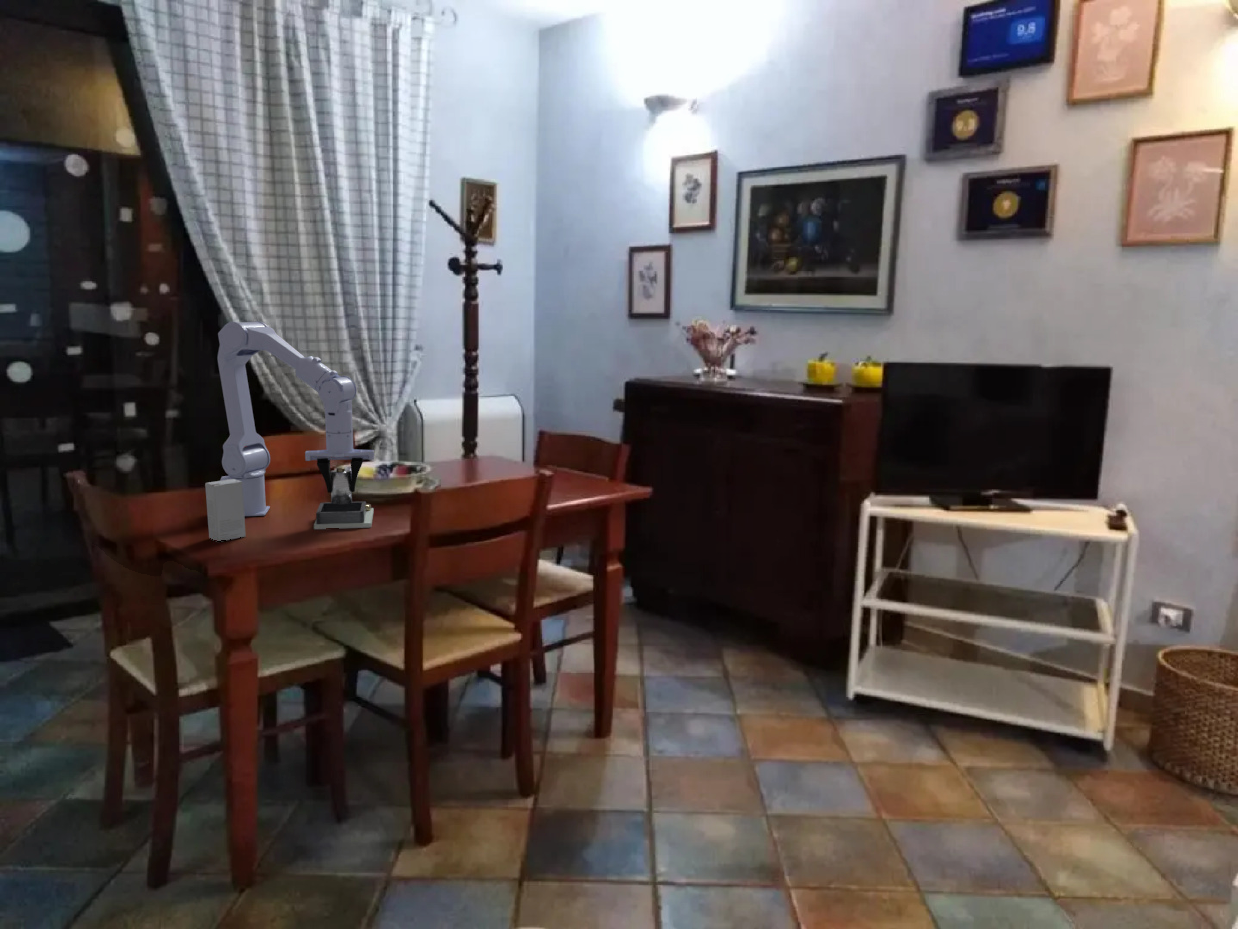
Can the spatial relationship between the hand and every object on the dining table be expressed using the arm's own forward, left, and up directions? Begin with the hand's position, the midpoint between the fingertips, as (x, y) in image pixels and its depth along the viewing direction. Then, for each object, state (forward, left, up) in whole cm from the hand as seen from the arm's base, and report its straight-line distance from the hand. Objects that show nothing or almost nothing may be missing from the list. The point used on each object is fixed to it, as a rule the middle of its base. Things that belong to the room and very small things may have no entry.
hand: (341, 491), depth 194 cm
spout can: (0, 0, -2) cm, 2 cm away
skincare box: (-22, -10, -7) cm, 26 cm away
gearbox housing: (0, +2, -7) cm, 7 cm away
